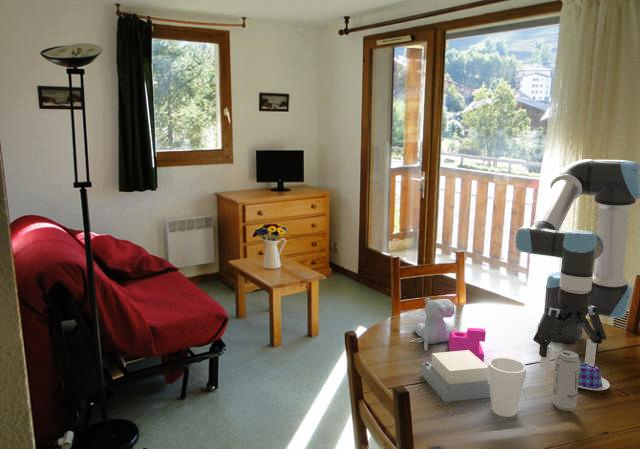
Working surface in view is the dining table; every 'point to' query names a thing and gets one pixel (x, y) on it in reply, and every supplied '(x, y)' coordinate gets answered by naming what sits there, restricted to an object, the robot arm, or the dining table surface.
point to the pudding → (591, 378)
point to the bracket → (468, 341)
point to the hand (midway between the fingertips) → (567, 366)
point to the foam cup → (506, 385)
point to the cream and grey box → (457, 376)
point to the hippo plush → (435, 322)
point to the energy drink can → (566, 380)
